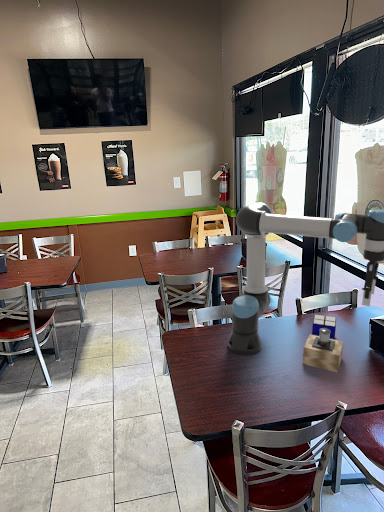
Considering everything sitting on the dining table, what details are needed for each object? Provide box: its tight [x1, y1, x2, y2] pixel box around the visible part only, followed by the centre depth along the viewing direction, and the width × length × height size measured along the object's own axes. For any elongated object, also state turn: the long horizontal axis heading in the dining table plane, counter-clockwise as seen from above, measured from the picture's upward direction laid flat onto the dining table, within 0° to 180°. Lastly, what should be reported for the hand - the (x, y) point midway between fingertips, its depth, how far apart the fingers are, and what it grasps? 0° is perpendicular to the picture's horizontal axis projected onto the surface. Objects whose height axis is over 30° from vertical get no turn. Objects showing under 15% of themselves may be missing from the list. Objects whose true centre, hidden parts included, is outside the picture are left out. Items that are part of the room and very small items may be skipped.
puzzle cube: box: [311, 314, 337, 340], centre depth 169 cm, size 10×10×10 cm
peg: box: [319, 328, 331, 347], centre depth 150 cm, size 4×4×8 cm
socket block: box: [302, 333, 344, 374], centre depth 152 cm, size 14×12×9 cm
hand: (368, 299), depth 146 cm, fingers open, 13 cm apart
